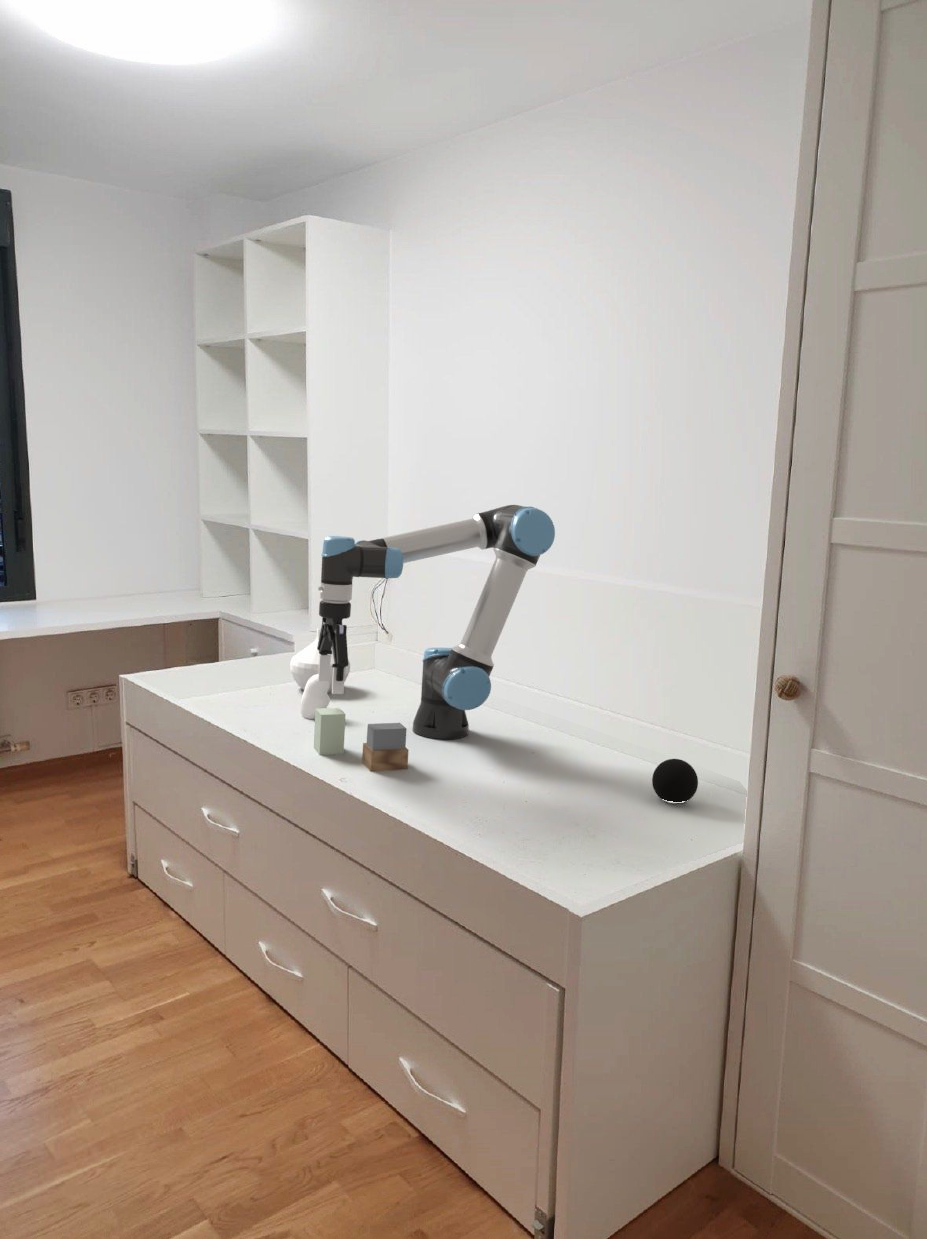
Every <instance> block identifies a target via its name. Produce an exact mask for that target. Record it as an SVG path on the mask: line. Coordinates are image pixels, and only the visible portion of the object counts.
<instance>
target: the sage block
mask: <svg viewBox="0 0 927 1239" xmlns="http://www.w3.org/2000/svg"><path fill="white" fill-rule="evenodd" d="M345 730H346V713H345V712H344V711H343V710H342V709H341V708H340V707H327V708H317V709H315V719H314V734H313V749H314V750H315V752H316V753H317V754H318V755H319V756H321V755H343V754H344V753H345V752H344V751H345V734H346V733H345V732H346V731H345Z"/></svg>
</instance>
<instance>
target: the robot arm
mask: <svg viewBox="0 0 927 1239" xmlns="http://www.w3.org/2000/svg"><path fill="white" fill-rule="evenodd" d="M555 537H556V529H555V525H554V522H553V520H552V518H551V516H549V514H548V513H546V512H545V511H544V510H542V509H539V508H537V507H534V506H522V505H518V504H508V505H504V506H501V507H497V508H493V509H490V510H487V511H484V512H478V513H475V514H473V516H472V518H469V519H465V520H461V521H455V522H450V523H446V524H440V525H437V526H432V527H427V528H423V529H417V530H413V531H410V532H404V533H400V534H395V535H391V536H386V537H385V536H384V537H382V538H376V539H371V540H358V541H356V540H355V539H354V538H353V537H350V536H340V535H329V536H326V537H325V538H324V539H323V544H322V551H321V552H322V554H321V570H320V571H321V575H320V576H321V577H320V586H318V588H317V590H318V591H320V592H319V594H320V596H319V598H320V599H321V600H320V601H319V606H318V615H319V616H320V617H321V619H322V620H321V627H320V628H321V632H320V637H319V642H318V647H317V649H318V650H319V654H321V655H319V673H318V681H329V679H330V662H331V655H328V654H332V650H331V648H332V649H333V656H334V663H335V664H333V665H332V667H333V680H332V692H331V694H332V695H344V694H345V693H344V691H345V682H344V679H345V667H346V666H348V664H349V663H348V659H349V654H348V653H349V652H348V642H347V641H348V639H347V631H348V629H347V628H348V627H347V625H346V624H343V620H344V619H345V620H346V619H349V618H351V610H352V603H351V602H350V601H352V597H353V580H354V577H355V578H373V579H386V580H389V579H398V578H399V577H401V575H402V573H403V569H404V564H406V563H410V562H415V561H419V560H425V559H428V558H433V557H438V556H442V555H448V554H452V553H456V552H461V551H465V550H469V549H474V548H478V549H481V550H487V549H491V548H492V549H493V552H494V554H495V560H494V563H493V564H492V566H491V569H490V572H489V574H488V576H487V579H486V581H485V584H484V585H483V588H482V591H481V593H480V595H479V598H478V600H477V603H476V605H475V608H474V611H473V613H472V615H471V617H470V619H469V621H468V624H467V627H466V629H465V631H464V634H463V636H462V638H461V642H460V643H459V644H458V645H455V646H453V647H428V648H426V649H425V650H424V653H423V659H422V674H421V676H422V677H421V691H420V693H421V694H420V695H421V696H420V703H419V705H418V709H417V712H416V714H415V716H414V718H413V721H412V731H413V733H414V734H417V735H419V736H422V737H426V738H430V739H438V740H439V739H442V740H453V739H460V738H461V739H462V738H463V737H466V736H468V735H469V728H470V726H469V721H468V717H467V713H466V711H470V710H474V709H477V708H479V707H481V706H482V705H483V704H484V703H485V702H486V701H487V699H488V698H489V696H490V694H491V690H492V682H491V679H490V676H491V674H492V671H493V669H494V667H495V664H494V662H493V658H492V656H493V653H494V651H495V648H496V646H497V644H498V641H499V639H500V636H501V635H502V632H503V629H504V627H505V624H506V622H507V619H508V617H509V615H510V613H511V611H512V607H513V606H514V603H515V601H516V598H517V596H518V593H519V591H520V589H521V587H522V584H523V581H524V580H525V578H526V574H527V573H528V571H529V570H532V569H533V568H536V566H537V564H538V561H539V559H540V557H541V555H543V554H545V553H547V552H548V551H549V550H550V548H551V547H552V545H553V544H554V541H555Z"/></svg>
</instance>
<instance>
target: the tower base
mask: <svg viewBox="0 0 927 1239" xmlns="http://www.w3.org/2000/svg"><path fill="white" fill-rule="evenodd" d="M409 751H410V750H409V749H408V748H407V746H406V747H405V749H394V750H374V751H373V750H372V749H371V748H370V747H369V746H368V745H367V742H363V743H362V758H361V759H362V760H361V763H362V764H363V765H364V767H366V769H368V770H369V772H382V771H383V772H385V771H404V770H408V768H409V767H408V764H409V763H408V762H409Z"/></svg>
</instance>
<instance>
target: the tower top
mask: <svg viewBox="0 0 927 1239" xmlns="http://www.w3.org/2000/svg"><path fill="white" fill-rule="evenodd" d="M366 730H367V731H366V743H367V745H368V746H369V747H370V748H371V749H372V750H373V751H374V750H394V749H405V747H406V748H407V746H406V743H407V727H406V726H404V725H403V724H402V723H401V722H387V723H386V722H384V723H380V722H379V723H367V728H366Z"/></svg>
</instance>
